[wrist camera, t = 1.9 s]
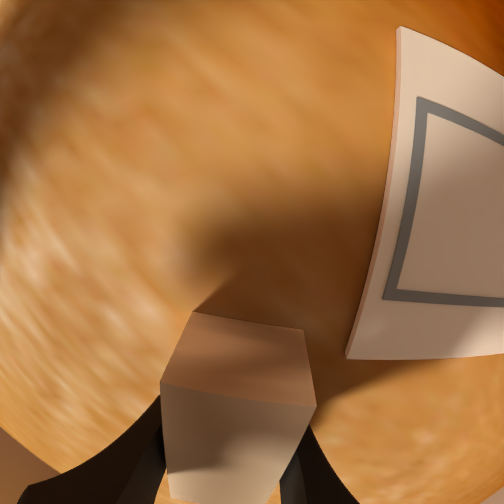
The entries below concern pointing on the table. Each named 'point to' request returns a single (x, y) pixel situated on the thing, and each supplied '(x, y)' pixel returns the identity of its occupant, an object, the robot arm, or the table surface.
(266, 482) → the tall beige pillar block
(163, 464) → the robot arm
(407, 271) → the mat
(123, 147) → the table surface
